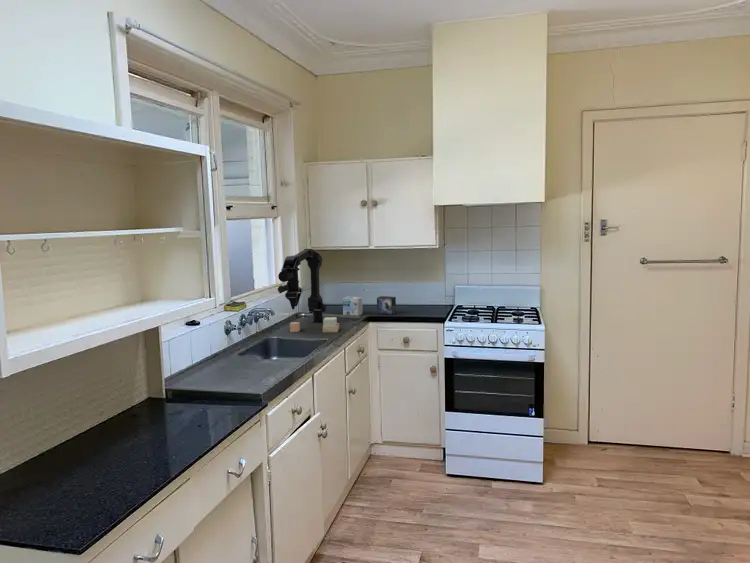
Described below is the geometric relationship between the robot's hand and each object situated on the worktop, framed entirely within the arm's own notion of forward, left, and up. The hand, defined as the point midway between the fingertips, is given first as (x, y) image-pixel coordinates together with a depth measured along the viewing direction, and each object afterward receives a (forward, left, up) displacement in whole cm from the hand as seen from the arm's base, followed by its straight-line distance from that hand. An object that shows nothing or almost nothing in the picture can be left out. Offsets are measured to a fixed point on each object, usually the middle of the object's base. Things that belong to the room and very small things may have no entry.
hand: (294, 307), depth 307 cm
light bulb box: (-44, +28, -13) cm, 54 cm away
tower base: (+1, +20, -13) cm, 24 cm away
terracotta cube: (0, 0, -13) cm, 13 cm away
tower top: (+1, +19, -10) cm, 22 cm away
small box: (-44, +49, -13) cm, 67 cm away
